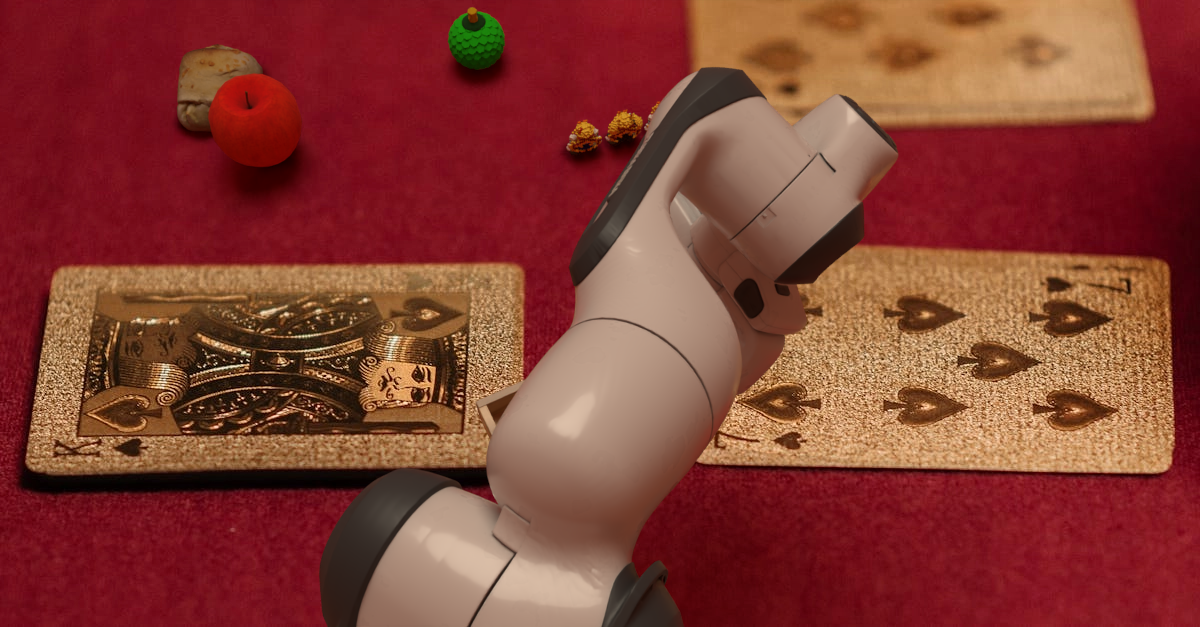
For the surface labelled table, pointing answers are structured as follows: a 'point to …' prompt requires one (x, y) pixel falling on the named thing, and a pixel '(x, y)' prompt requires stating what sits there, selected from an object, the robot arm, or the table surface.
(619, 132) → the figurine set
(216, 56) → the pastry
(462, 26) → the ornament
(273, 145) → the apple
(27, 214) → the table surface
